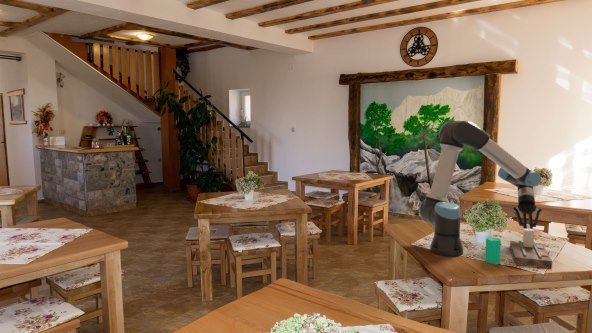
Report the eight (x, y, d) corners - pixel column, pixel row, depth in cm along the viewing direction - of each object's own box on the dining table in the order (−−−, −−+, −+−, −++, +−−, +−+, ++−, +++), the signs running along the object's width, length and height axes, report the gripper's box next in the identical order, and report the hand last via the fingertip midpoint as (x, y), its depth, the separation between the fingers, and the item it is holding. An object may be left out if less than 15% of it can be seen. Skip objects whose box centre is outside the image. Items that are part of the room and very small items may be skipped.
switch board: (514, 263, 182) (515, 255, 182) (510, 246, 208) (510, 238, 207) (551, 267, 177) (552, 258, 176) (542, 249, 202) (542, 241, 202)
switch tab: (523, 246, 196) (524, 230, 196) (522, 244, 200) (523, 228, 199) (533, 247, 195) (534, 231, 194) (532, 245, 198) (533, 229, 198)
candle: (482, 260, 187) (483, 234, 186) (491, 258, 190) (492, 233, 189) (493, 264, 182) (494, 237, 181) (502, 262, 184) (503, 236, 183)
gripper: (539, 203, 213) (543, 243, 200) (511, 201, 219) (512, 240, 205) (541, 194, 208) (545, 235, 195) (512, 193, 213) (514, 232, 200)
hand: (528, 238), depth 200 cm, fingers closed
